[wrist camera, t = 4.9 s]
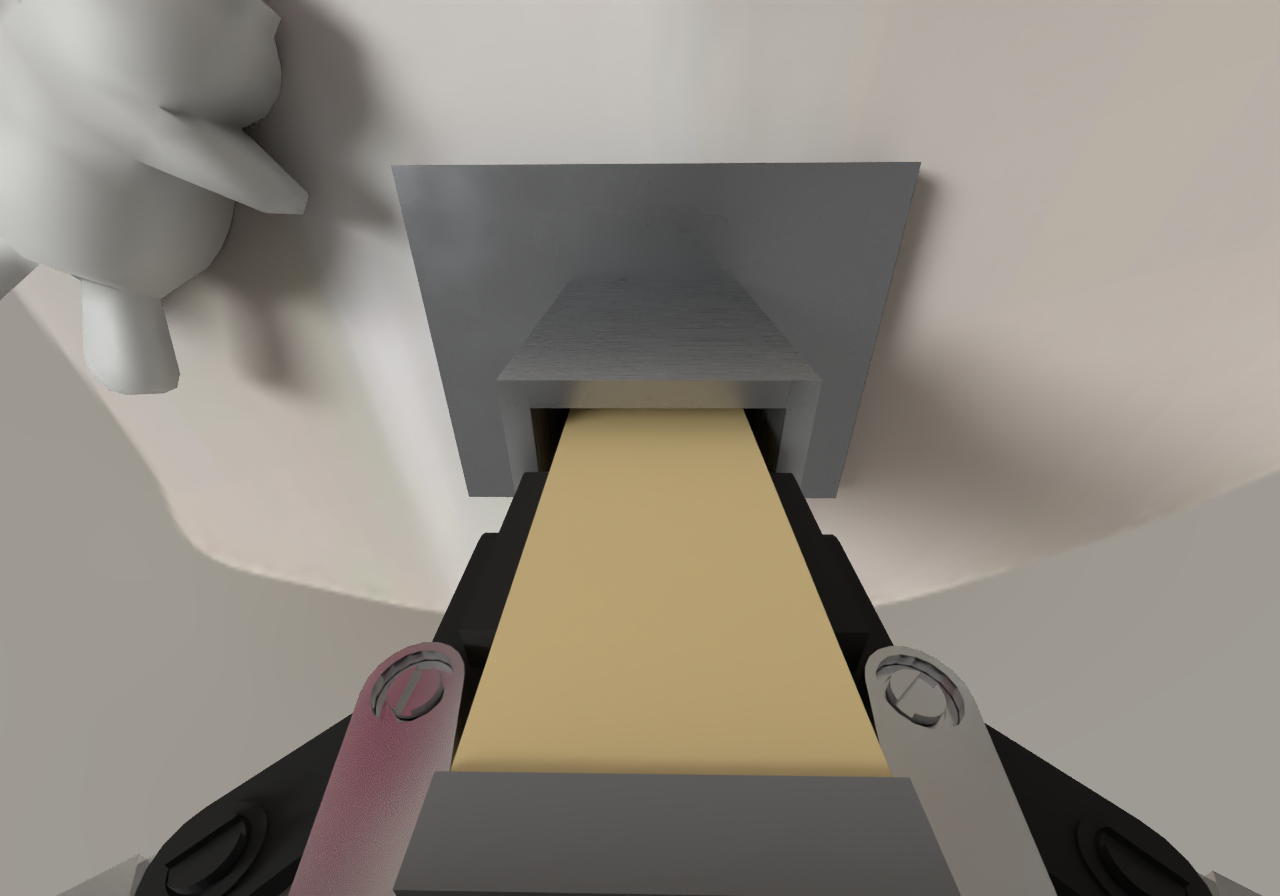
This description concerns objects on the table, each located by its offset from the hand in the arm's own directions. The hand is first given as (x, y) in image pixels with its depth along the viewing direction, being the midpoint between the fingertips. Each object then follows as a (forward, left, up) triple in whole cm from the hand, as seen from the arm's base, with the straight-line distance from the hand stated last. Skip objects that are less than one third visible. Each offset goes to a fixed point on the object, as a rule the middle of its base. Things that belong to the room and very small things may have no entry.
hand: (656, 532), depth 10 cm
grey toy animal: (+18, -7, -13) cm, 23 cm away
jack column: (0, 0, -10) cm, 10 cm away
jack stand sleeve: (0, 0, -12) cm, 12 cm away
